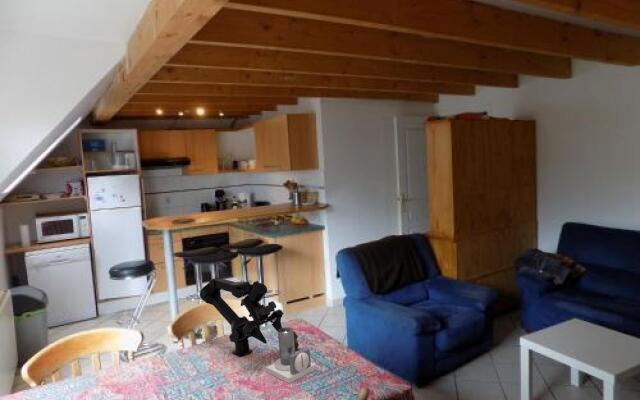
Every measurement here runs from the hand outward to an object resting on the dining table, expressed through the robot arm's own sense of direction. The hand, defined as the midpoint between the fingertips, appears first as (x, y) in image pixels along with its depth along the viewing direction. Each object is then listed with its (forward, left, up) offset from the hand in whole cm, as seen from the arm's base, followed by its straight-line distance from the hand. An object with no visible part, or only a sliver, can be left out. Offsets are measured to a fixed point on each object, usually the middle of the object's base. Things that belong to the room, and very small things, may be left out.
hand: (274, 339), depth 173 cm
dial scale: (+8, +1, -11) cm, 14 cm away
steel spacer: (+7, +1, -8) cm, 10 cm away
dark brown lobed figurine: (-10, +17, -11) cm, 23 cm away
